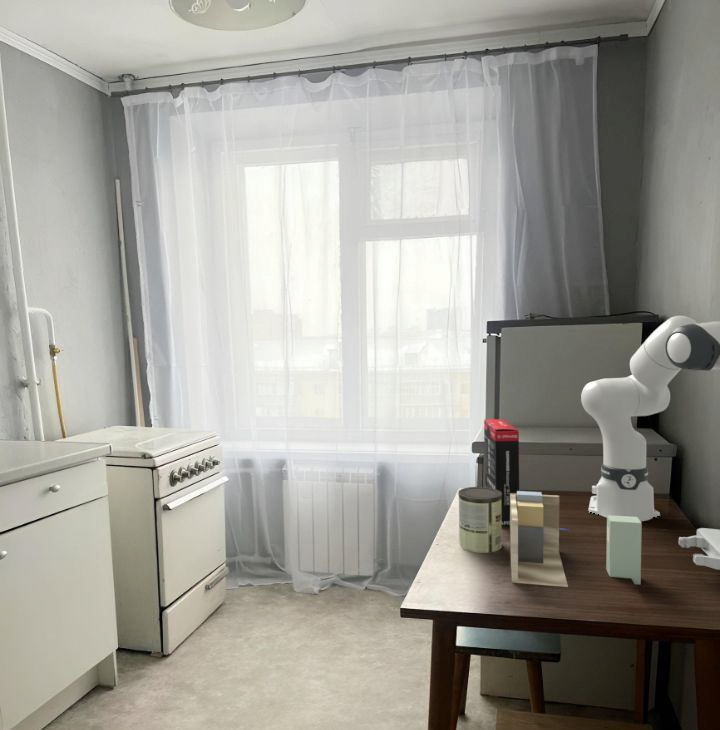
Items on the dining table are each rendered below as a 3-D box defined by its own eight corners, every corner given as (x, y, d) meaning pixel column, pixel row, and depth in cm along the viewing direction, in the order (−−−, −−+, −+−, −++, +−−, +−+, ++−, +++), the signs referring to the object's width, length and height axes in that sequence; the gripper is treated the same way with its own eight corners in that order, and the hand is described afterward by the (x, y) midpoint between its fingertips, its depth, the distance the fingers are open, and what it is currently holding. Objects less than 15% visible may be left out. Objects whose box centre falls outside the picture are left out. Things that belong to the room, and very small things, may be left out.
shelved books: (516, 549, 138) (516, 490, 137) (540, 551, 137) (541, 492, 136) (517, 560, 132) (517, 499, 131) (543, 562, 130) (543, 500, 130)
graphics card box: (521, 531, 154) (521, 428, 152) (494, 531, 154) (494, 428, 153) (506, 510, 171) (506, 418, 170) (482, 511, 171) (482, 418, 170)
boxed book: (605, 574, 127) (606, 515, 126) (636, 576, 125) (637, 516, 124) (609, 582, 123) (610, 521, 122) (640, 584, 121) (641, 523, 121)
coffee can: (460, 540, 148) (460, 485, 147) (502, 543, 145) (502, 487, 144) (456, 555, 138) (456, 496, 137) (501, 559, 135) (501, 499, 134)
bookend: (517, 554, 135) (517, 520, 135) (541, 555, 134) (542, 521, 134) (517, 561, 131) (517, 526, 130) (543, 563, 130) (543, 528, 129)
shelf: (509, 551, 140) (510, 493, 139) (558, 555, 137) (558, 495, 137) (511, 587, 121) (511, 520, 120) (568, 592, 118) (568, 523, 117)
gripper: (741, 523, 128) (672, 519, 131) (786, 559, 108) (703, 553, 111) (740, 551, 128) (671, 546, 131) (785, 592, 108) (702, 586, 111)
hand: (686, 550), depth 121 cm, fingers open, 8 cm apart
